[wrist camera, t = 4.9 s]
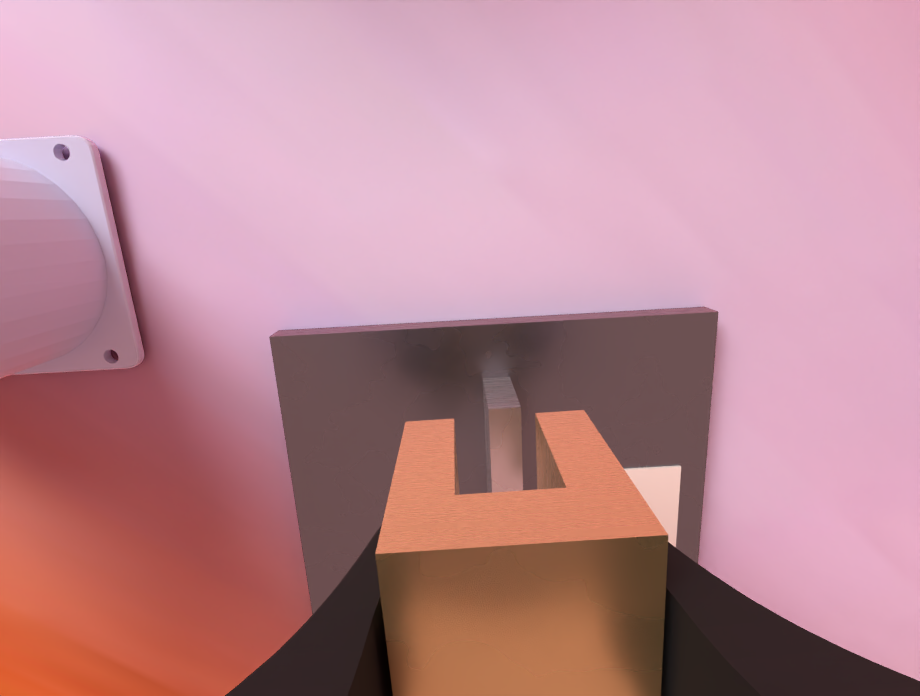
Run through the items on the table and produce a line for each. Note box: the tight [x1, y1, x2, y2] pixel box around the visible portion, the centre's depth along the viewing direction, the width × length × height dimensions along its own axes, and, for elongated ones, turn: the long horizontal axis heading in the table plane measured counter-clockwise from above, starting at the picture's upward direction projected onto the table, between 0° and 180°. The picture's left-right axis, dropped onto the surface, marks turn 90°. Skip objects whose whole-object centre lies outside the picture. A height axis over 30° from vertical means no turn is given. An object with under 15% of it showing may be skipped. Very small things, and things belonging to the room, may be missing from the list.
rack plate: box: [270, 307, 718, 614], centre depth 19 cm, size 16×20×4 cm
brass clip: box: [375, 410, 668, 696], centre depth 11 cm, size 4×5×5 cm
